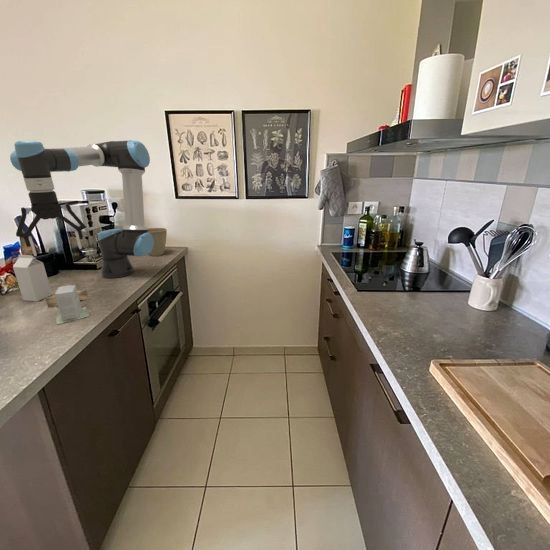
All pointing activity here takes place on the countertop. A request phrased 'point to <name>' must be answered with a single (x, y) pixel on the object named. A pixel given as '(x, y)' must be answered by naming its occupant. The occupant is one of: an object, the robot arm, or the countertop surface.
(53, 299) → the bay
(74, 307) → the small box
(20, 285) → the milk carton
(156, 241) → the plant pot
